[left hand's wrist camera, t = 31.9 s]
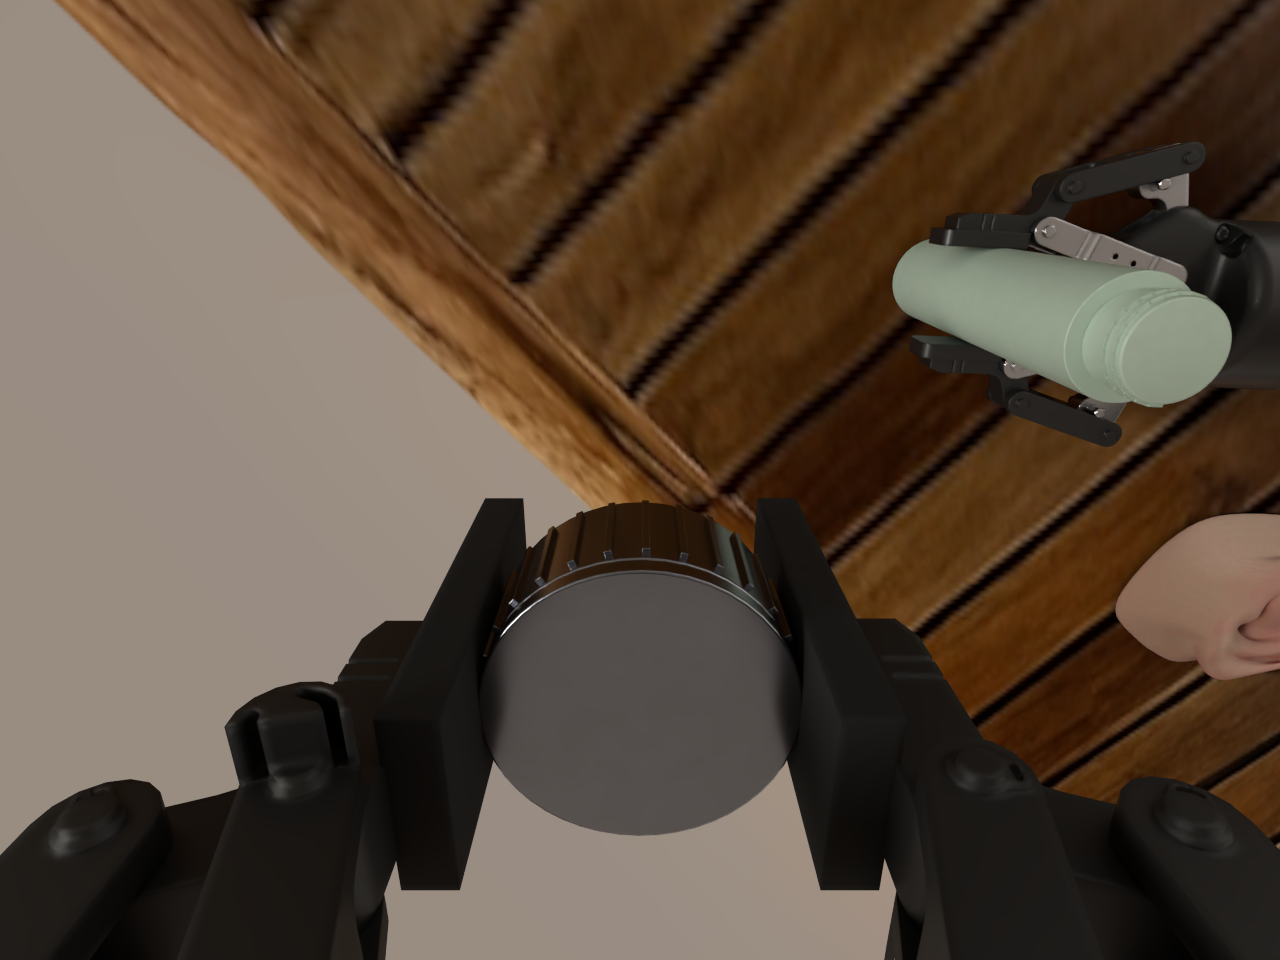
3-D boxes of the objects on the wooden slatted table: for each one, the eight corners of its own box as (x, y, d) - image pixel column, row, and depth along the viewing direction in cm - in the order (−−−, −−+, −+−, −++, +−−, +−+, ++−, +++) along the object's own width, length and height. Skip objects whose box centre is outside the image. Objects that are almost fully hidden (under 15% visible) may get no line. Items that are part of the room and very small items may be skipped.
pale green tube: (900, 235, 39) (1126, 273, 21) (979, 240, 39) (1274, 281, 21) (885, 317, 40) (1084, 418, 22) (962, 321, 41) (1221, 425, 22)
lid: (748, 750, 14) (768, 855, 11) (491, 719, 13) (463, 821, 11) (808, 518, 12) (845, 591, 10) (512, 478, 12) (483, 543, 9)
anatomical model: (1129, 678, 44) (1229, 512, 40) (1091, 641, 48) (1179, 485, 44) (1321, 721, 46) (1437, 563, 41) (1270, 681, 49) (1372, 533, 45)
